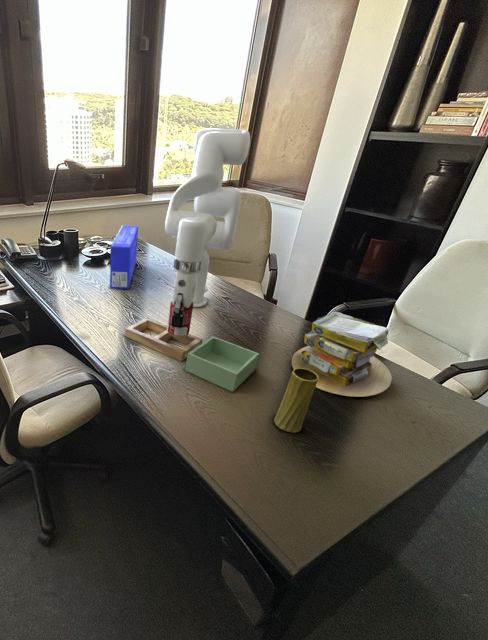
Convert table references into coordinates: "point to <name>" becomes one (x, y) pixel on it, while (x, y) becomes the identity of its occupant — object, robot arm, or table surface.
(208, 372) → the bin
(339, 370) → the stacked boxes on plate
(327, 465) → the table surface
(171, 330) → the soda can
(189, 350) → the caddy
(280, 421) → the vase
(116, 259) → the blue box
